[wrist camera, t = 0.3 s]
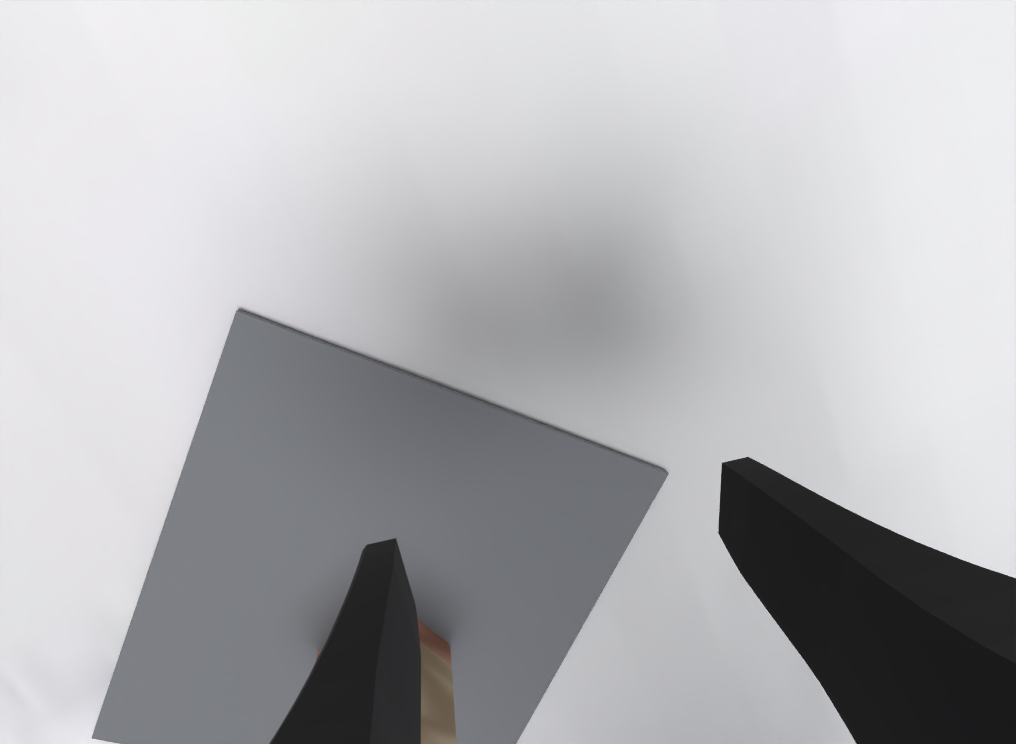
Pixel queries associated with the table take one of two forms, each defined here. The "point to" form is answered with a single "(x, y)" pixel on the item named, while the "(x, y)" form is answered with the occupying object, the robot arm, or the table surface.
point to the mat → (363, 541)
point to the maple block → (435, 689)
